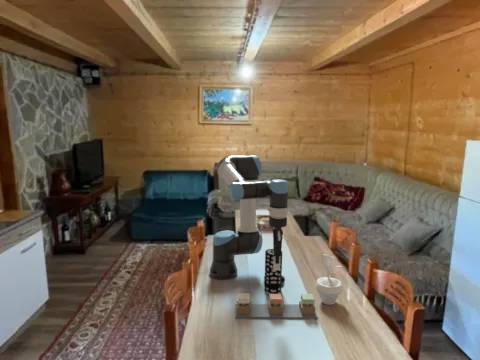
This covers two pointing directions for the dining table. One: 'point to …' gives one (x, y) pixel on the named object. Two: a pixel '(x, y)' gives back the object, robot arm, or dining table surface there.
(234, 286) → the dining table surface
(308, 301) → the button sage
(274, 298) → the orange cube
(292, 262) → the dining table surface
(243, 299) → the button cream
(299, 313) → the button board
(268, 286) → the spotted tube
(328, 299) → the potted plant
